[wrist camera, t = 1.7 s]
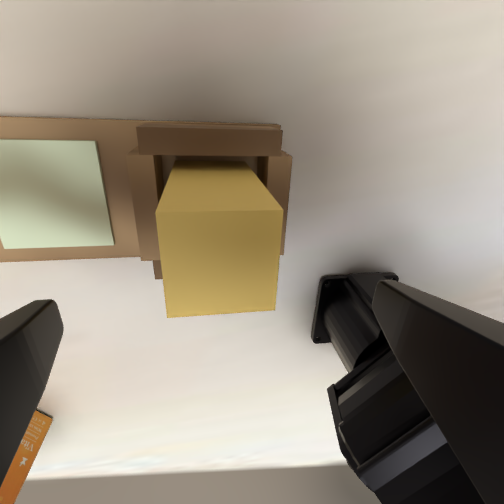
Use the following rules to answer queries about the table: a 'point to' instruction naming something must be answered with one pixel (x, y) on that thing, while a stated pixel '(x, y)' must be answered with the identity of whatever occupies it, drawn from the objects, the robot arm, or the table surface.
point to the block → (218, 240)
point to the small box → (24, 457)
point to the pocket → (199, 144)
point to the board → (74, 187)
